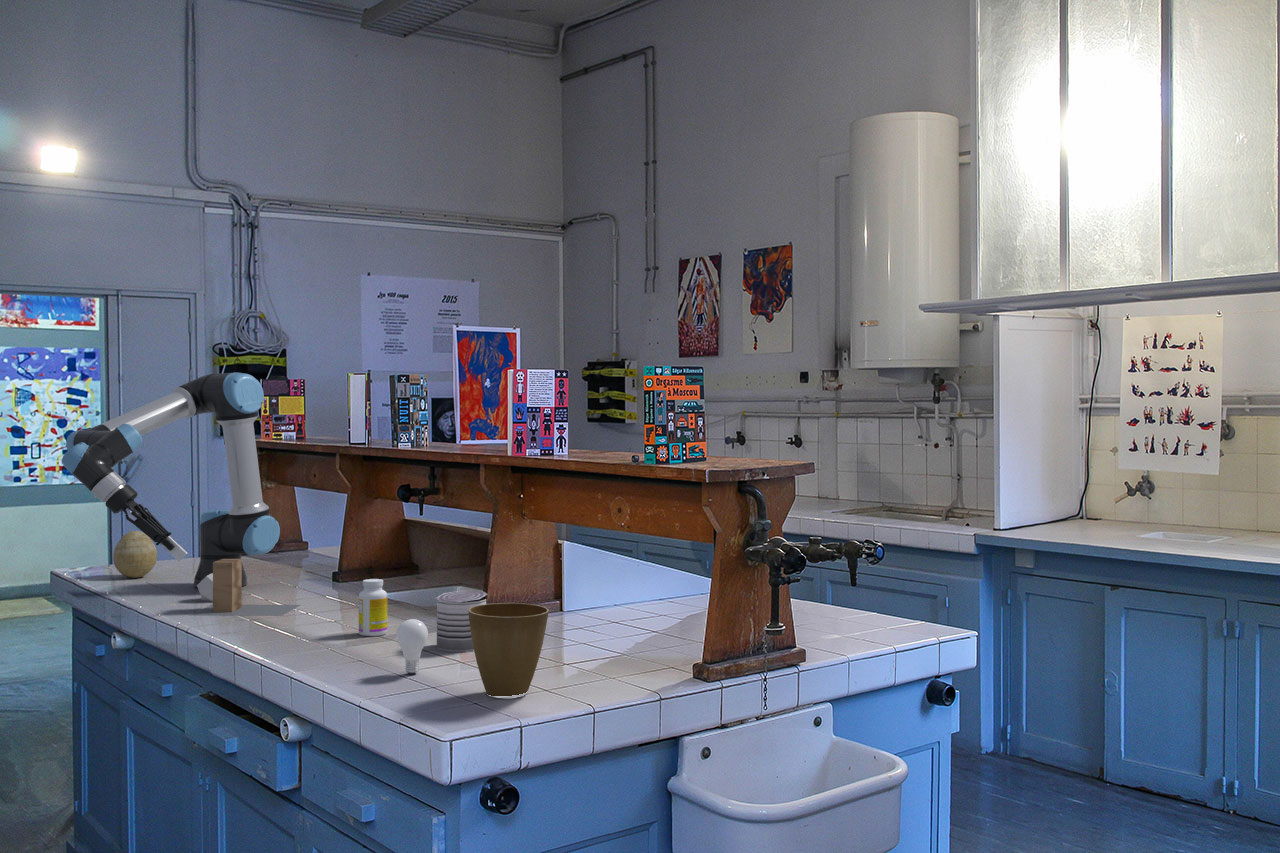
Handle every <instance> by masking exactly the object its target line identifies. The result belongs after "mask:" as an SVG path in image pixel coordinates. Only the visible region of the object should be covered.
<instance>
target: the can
mask: <svg viewBox="0 0 1280 853" xmlns="http://www.w3.org/2000/svg"><path fill="white" fill-rule="evenodd" d="M486 596H489V594H488V593H487V592H485V591H483V590H469V589H467V590H466V589H461V590H456V591H450V592H444V593H442V594H440V595H438V596H436V597H434V599H435V600H436V649H437V650H438V651H443V652H446V651H447V652H448V653H467V652H466V651H469V652H474V651H473V650H474V647H473V642H472V637H471V630H470V622H469V613H468V609H469V608H471V607H473V606H477V605H484V604H487V598H486Z"/></svg>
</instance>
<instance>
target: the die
mask: <svg viewBox="0 0 1280 853" xmlns="http://www.w3.org/2000/svg"><path fill="white" fill-rule="evenodd" d="M197 587H198V588H197V590H198V592H199V594H200V597H201V599H202V601H203V602H211V603H213V573H211V574H209V575H208V576H206V577H205V578H204V579H203V580H202V581H201V582H200V583H199V584H198V585H197Z"/></svg>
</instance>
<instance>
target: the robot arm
mask: <svg viewBox="0 0 1280 853" xmlns="http://www.w3.org/2000/svg"><path fill="white" fill-rule="evenodd" d="M264 395H265V394H264V389H263V387H262V384H261V383H260V382H259V380H258V379H256V378H255V377H254V376H253V375H251V374H248V373H243V372H226V373H216V372H215V373H209V374H205V375H202V376H200V377H197V378H195V379H192V380H190V381H188V382H186V383H184V384H181V385H180V386H177V387H175V388H174V389H172V391H171V393H169V394H168V395H167V394H166V395H165V396H163V397H160V398H158V399H155V400H154V401H152V402H148V403H146V404H143V405H142V406H139V407H137V408H134V409H132V410H131V411H130V410H129V411H128V412H125V413H122V414H121V415H119V416H117V417H114V418H112V419H109V420H107V421H105V422H103V423H100V424H98V425H95V426H92V427H91V428H88V429H79V430H75V431H72V432H71V433H70V434H69V435H68V436H67V438H66V442H65V445H66V449H67V451H66V452H65V453H64V455H63V456H62V457H61V464H62V465H63V466H64V468H66V470H67V471H68V472H69V473H70V474H71V475H72V476H74V477H75V478H76V479H77V480H78V481H79V482H80V483H81V484H82V485H84V486H85V487H86V489H88V490H89V491H90V492H91V493H92V494H93V499H98V500H99V501H101V503H104V505H105V507H107V509H108V510H110V511H111V512H112V514H114V515H115V514H119V513H120V512H123V513H124V514H125V515H124V516H125V519H126V521H128V522H130V523H131V524H132V525H134V526H135V527H136V528H137V529H138V530H139V531H141V532H143V533H145V534H146V535H147V536H148V537H149V538H150V539H151V540H152V541H153V543H155V546H159V545H161V546H162V547H163V548H164V549H165V550H166V551H167V552H168V553H169V554H170V555H171V556H173V558H174V559H176V560H177V561H178V562H180V561H182V560H183V559H184V558H185V556H187V555H188V552H187V551H186V549H184V548H183V547H182V546H181V545H180V544H179V543H177V541H175V540H174V539H173V538H172V537H171V535H172V532H170V531H168V530H167V529H166V528H165V527H164V526H163V525H162V524H161V522H160V521H159V520H158V519H157V518H156V517H155V516H154V515H153V514H152V513H151V511H150V510H149V509H148V507H144V506H143V505H142V504H141V503H137V502H136V501H135V499H137V497H138V492H137V491H136V490H135V489H134V488H133V487H132V486H131V485H130V484H126V483H127V482H126V480H125V479H124V478H122V476H121V475H119V473H117V472H116V471H115V470H114V469H113V467H115V466H116V465H117V464H118V463H120V462H122V461H123V460H124V459H125V458H128V457H129V456H130V455H132V454H134V453H135V451H137V450H138V449H139V448H140V447H142V445H143V436H144V435H146V434H149V433H151V432H154V431H155V430H158V429H160V428H162V427H164V426H167V425H169V424H170V423H174V422H175V421H178V420H180V419H182V418H187V419H190V418H192V417H196V416H197V415H201V414H202V415H203V414H209V413H210V414H211V413H213V414H214V415H215V421H216V422H217V423H218V424H219V425H221V428H222V433H223V440H224V450H225V457H226V465H227V473H228V482H229V490H230V497H231V508H229V509H221V510H219V509H218V510H211V511H205V512H203V513H201V516H200V523H199V539H200V541H199V543H200V544H199V546H200V548H199V552H200V553H199V554H200V555H199V556H200V558H199V563H198V566H197V570H196V572H195V576H194V578H193V587H194V589H195V588H196V589H198V587H197V585H198V584H199V583H200V582H201V581H202V580H203V579H204V578H205V577H206V576H208V575H209V574H211V573H213V562H215V561H218V560H221V559H242V554H243V555H249V556H257V555H259V556H261V555H265V554H267V553H269V552H270V551H272V550H273V549H274V548H275V545H277V543H278V541H279V539H280V535H281V534H280V533H281V528H280V527H281V526H280V525H279V522H278V520H276V518H274V517H273V516H272V515H271V514H270V508H269V505H268V504H266V503H265V502H264V500H263V493H262V485H261V476H260V469H259V468H260V467H259V461H258V460H259V458H258V451H257V443H256V435H255V427H254V426H255V425H254V423H255V422H256V420H257V419H258V418H259V415H258V414H259V413H258V410H260V409H261V407H262V404H263V403H264V399H265V398H264V397H265V396H264ZM247 585H248V576H247V572H246V569H245V568H244V565H243V563H242V587H245V586H247Z"/></svg>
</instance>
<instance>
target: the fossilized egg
mask: <svg viewBox="0 0 1280 853" xmlns="http://www.w3.org/2000/svg"><path fill="white" fill-rule="evenodd" d="M157 550H158V549H157V548H156V544H155V542H154V541H153V540H152V539H151V538H149V537H148V536H147V535H146V534H145V533H143V532H142V531H141V530H131V531H128V532H127V533H125V534H124V535H123V536H122V537H121V538H120V539H119V540H118V542H117V543H116V545H115V547H114V550H113V555H112V559H113V564H114V567H115V570H117V571H118V572H119V573H120V574H121V575H122V576H124V577H127V578H131V579H139V578H142V577H145V576H147V574H149V573H150V572H151V571H152V570H153V569H154V568H155V566H156V563H157V560H158V551H157Z"/></svg>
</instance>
